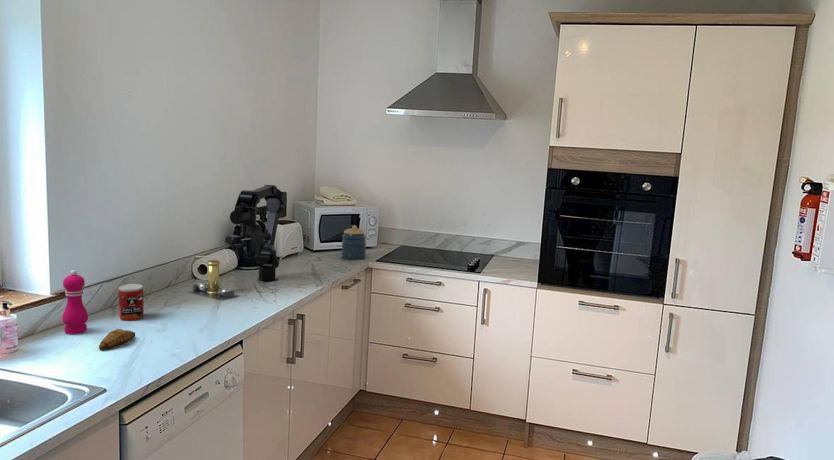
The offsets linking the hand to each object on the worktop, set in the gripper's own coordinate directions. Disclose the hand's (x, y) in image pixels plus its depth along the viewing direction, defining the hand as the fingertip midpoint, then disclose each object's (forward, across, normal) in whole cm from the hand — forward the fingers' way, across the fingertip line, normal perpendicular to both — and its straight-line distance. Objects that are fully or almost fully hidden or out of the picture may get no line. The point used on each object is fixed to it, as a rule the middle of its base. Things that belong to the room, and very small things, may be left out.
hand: (248, 258), depth 253 cm
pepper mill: (+13, -71, -11) cm, 73 cm away
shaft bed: (+13, -15, +2) cm, 20 cm away
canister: (+13, +79, +21) cm, 83 cm away
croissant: (+14, -66, -31) cm, 74 cm away
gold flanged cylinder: (+13, -15, +2) cm, 20 cm away
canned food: (+13, -52, -8) cm, 54 cm away
